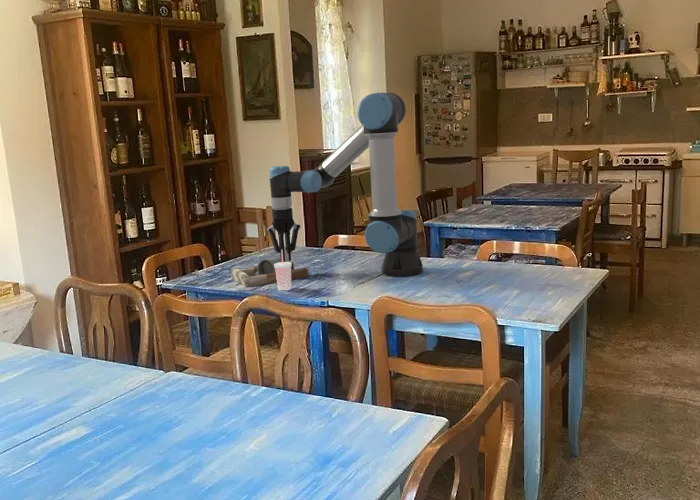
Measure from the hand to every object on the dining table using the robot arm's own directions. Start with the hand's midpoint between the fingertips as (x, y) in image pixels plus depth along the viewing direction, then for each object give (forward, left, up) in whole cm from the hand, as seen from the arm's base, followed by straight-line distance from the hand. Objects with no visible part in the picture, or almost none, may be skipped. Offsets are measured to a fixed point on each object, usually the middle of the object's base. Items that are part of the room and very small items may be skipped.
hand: (286, 269), depth 269 cm
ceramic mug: (-1, +7, -2) cm, 8 cm away
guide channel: (-1, +7, -2) cm, 7 cm away
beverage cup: (-21, +9, -2) cm, 22 cm away
